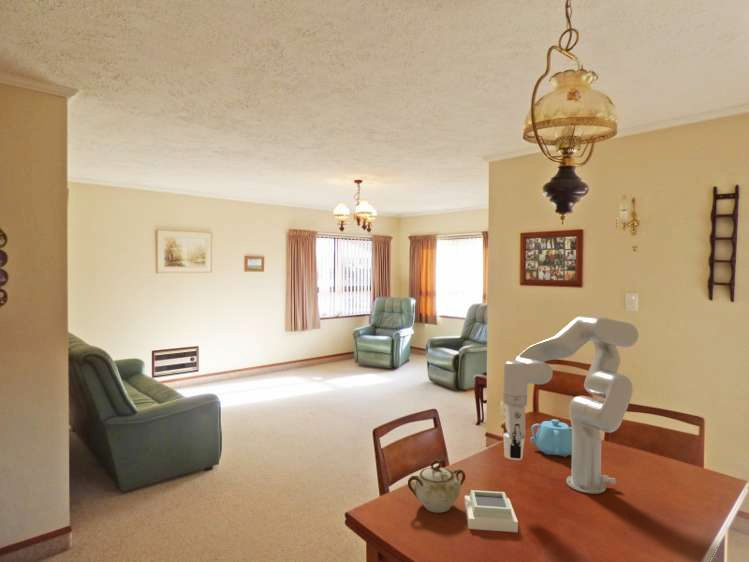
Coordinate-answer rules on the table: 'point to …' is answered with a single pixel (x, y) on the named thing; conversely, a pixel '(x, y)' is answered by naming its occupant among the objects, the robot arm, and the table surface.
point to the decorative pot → (553, 438)
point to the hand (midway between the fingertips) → (513, 453)
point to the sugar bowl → (437, 487)
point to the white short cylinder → (508, 442)
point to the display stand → (490, 511)
